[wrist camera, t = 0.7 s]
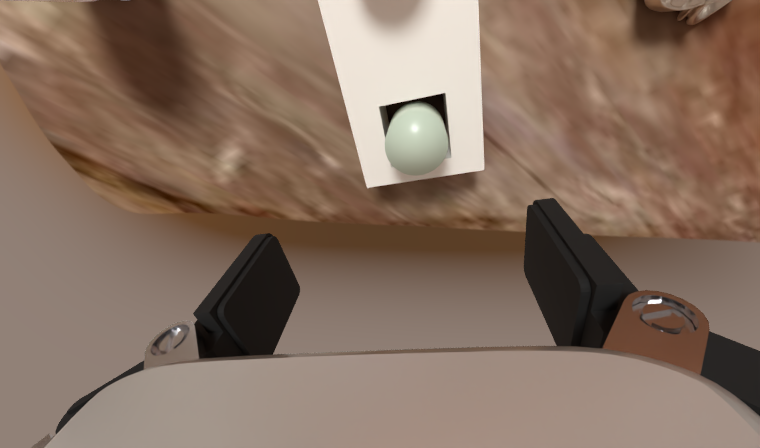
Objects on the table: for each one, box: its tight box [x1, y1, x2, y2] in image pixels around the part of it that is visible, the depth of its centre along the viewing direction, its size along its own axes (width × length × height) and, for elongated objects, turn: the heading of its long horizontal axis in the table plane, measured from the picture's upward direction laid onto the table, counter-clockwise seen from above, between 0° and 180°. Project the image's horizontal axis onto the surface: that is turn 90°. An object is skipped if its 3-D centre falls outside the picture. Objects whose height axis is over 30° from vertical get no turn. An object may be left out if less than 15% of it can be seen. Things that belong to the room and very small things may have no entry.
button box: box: [318, 0, 484, 188], centre depth 22 cm, size 10×20×4 cm, turn 12°
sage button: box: [385, 101, 448, 176], centre depth 23 cm, size 4×4×4 cm
